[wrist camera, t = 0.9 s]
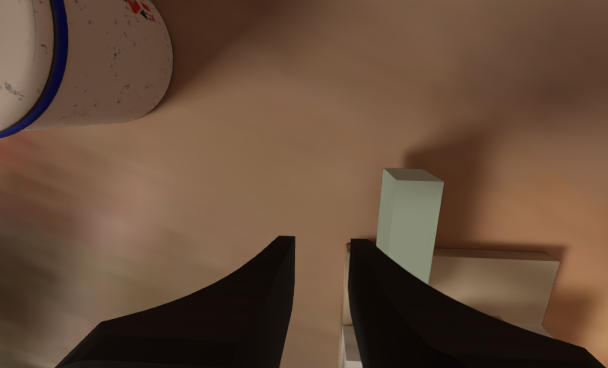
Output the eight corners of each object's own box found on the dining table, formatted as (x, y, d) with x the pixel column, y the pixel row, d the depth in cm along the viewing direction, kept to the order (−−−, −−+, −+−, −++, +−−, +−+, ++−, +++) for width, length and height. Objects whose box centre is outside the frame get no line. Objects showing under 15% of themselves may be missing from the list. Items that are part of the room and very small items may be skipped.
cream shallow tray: (504, 404, 24) (543, 465, 20) (336, 393, 24) (339, 451, 20) (546, 252, 20) (603, 289, 16) (345, 244, 21) (352, 277, 17)
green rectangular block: (423, 169, 17) (447, 183, 14) (404, 307, 20) (421, 346, 17) (383, 168, 18) (398, 182, 14) (370, 305, 20) (380, 344, 17)
